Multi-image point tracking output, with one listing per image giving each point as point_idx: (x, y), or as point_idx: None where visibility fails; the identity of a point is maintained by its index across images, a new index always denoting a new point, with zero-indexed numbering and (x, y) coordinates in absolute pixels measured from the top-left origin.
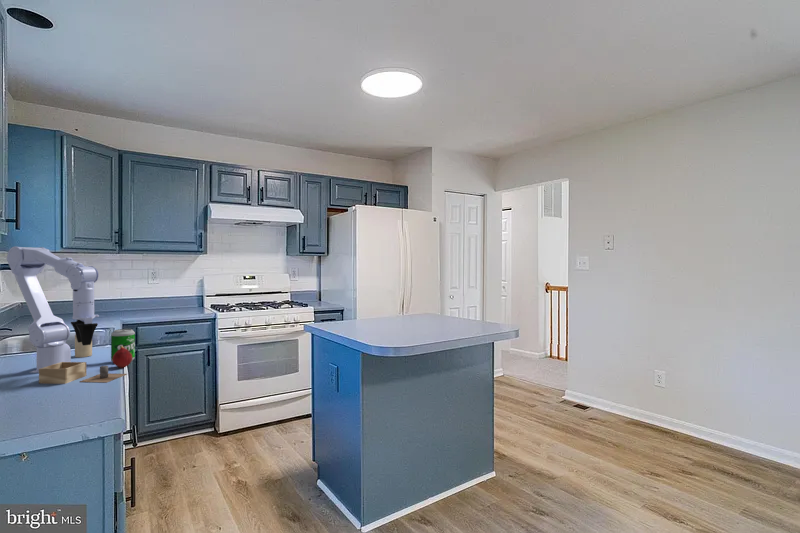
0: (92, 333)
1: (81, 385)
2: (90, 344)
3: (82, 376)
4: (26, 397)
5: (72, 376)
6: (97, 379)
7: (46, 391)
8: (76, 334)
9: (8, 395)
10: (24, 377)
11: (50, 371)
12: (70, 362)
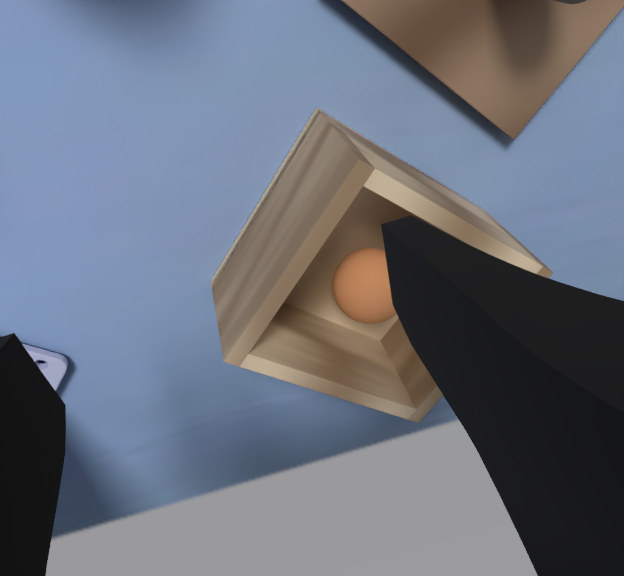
0: (571, 298)
1: (553, 113)
2: (415, 217)
3: (362, 139)
4: None
5: (462, 203)
6: (547, 7)
7: (550, 277)
8: (44, 545)
9: None
10: (107, 464)
11: None
12: (288, 292)
